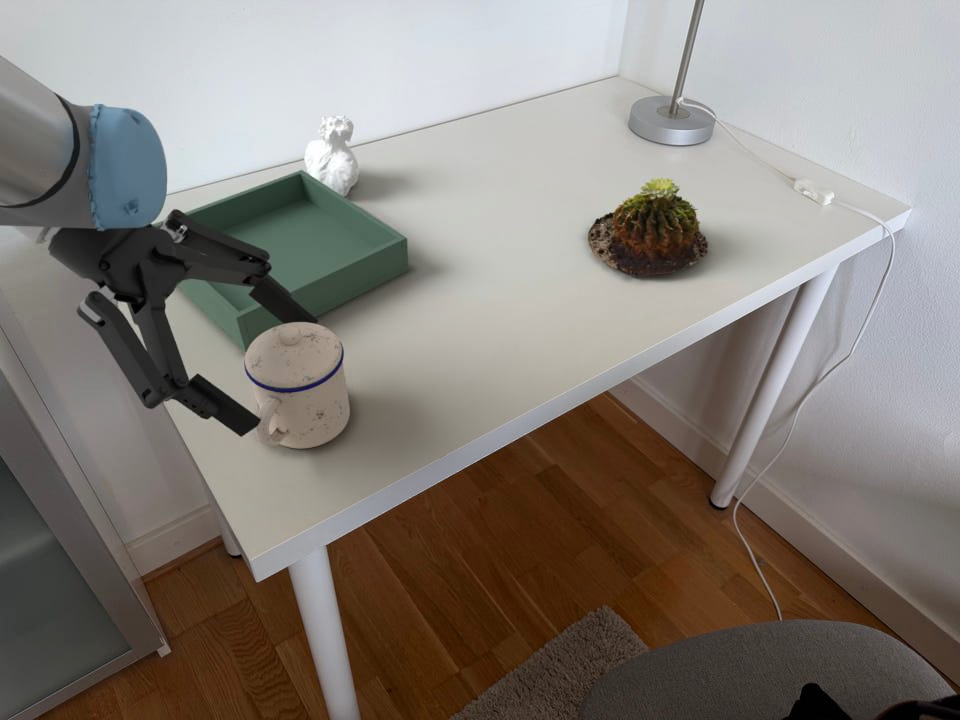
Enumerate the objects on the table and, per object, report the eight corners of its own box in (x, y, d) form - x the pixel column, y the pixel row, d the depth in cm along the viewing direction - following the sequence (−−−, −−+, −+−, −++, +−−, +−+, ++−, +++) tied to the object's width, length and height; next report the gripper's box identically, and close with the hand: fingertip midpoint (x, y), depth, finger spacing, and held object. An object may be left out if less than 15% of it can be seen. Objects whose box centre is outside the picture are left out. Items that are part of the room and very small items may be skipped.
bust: (361, 212, 104) (394, 143, 101) (322, 197, 97) (357, 123, 95) (318, 182, 110) (348, 116, 107) (279, 166, 104) (311, 96, 101)
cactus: (635, 202, 104) (647, 140, 97) (729, 245, 96) (750, 181, 89) (561, 245, 94) (570, 180, 88) (658, 297, 86) (676, 230, 80)
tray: (245, 352, 77) (236, 318, 74) (152, 261, 89) (140, 228, 86) (408, 270, 89) (407, 237, 86) (306, 200, 101) (301, 169, 98)
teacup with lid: (289, 378, 74) (269, 292, 66) (367, 397, 72) (356, 310, 64) (228, 461, 66) (197, 374, 58) (314, 485, 64) (295, 398, 56)
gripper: (140, 169, 67) (308, 310, 75) (-51, 333, 49) (198, 494, 57) (175, 122, 63) (349, 278, 71) (-20, 283, 45) (245, 465, 53)
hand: (282, 375), depth 64 cm, fingers open, 13 cm apart
